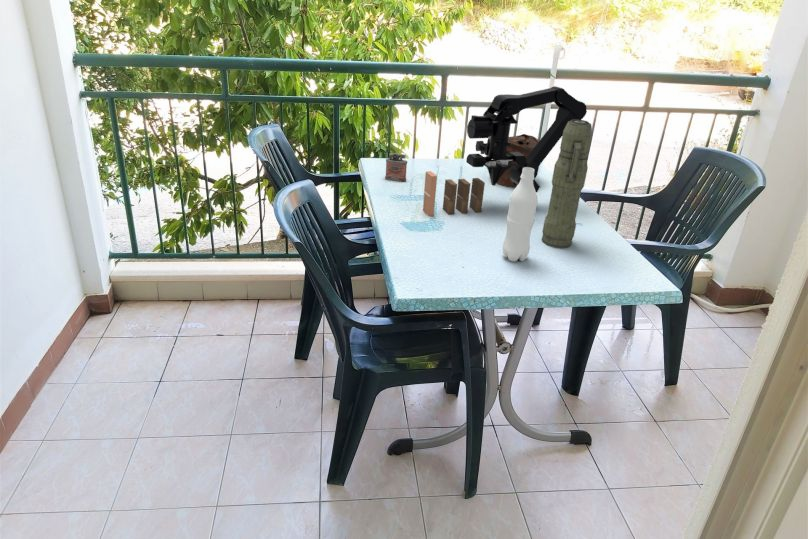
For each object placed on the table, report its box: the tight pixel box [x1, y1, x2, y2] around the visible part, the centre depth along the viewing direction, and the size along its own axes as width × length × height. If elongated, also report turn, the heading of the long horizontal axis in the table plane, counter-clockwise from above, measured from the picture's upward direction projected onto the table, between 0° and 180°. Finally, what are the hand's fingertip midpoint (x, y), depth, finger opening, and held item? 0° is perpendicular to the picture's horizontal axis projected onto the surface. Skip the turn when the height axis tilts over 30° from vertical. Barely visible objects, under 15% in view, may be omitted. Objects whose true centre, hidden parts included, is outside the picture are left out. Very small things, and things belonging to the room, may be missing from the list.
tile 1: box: [468, 177, 486, 213], centre depth 183 cm, size 2×5×10 cm, turn 18°
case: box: [492, 133, 540, 188], centre depth 210 cm, size 18×20×18 cm
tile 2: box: [455, 178, 471, 214], centre depth 181 cm, size 2×5×10 cm, turn 18°
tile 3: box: [442, 178, 458, 215], centre depth 180 cm, size 2×5×10 cm, turn 19°
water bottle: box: [502, 167, 539, 262], centre depth 148 cm, size 7×7×25 cm
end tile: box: [422, 170, 438, 217], centre depth 177 cm, size 2×5×13 cm, turn 20°
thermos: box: [541, 119, 593, 249], centre depth 157 cm, size 9×12×35 cm
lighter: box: [384, 152, 408, 183], centre depth 206 cm, size 8×3×10 cm, turn 73°
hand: (493, 185), depth 183 cm, fingers closed
